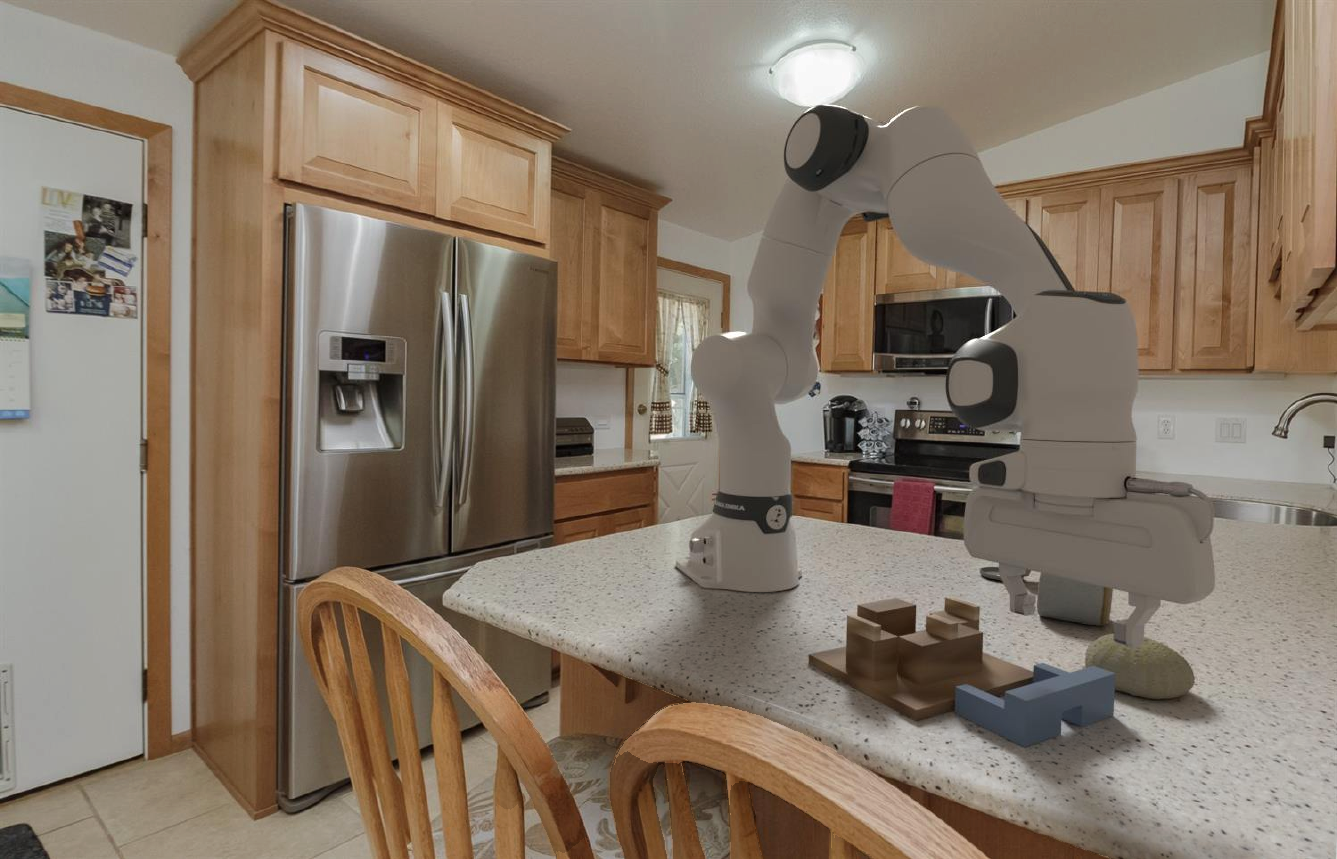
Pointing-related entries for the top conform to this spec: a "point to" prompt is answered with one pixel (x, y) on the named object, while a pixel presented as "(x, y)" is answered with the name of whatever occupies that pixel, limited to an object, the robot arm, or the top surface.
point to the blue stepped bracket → (1041, 704)
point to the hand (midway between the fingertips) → (1071, 627)
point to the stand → (918, 657)
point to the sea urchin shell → (1142, 667)
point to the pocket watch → (996, 572)
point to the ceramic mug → (1073, 600)
